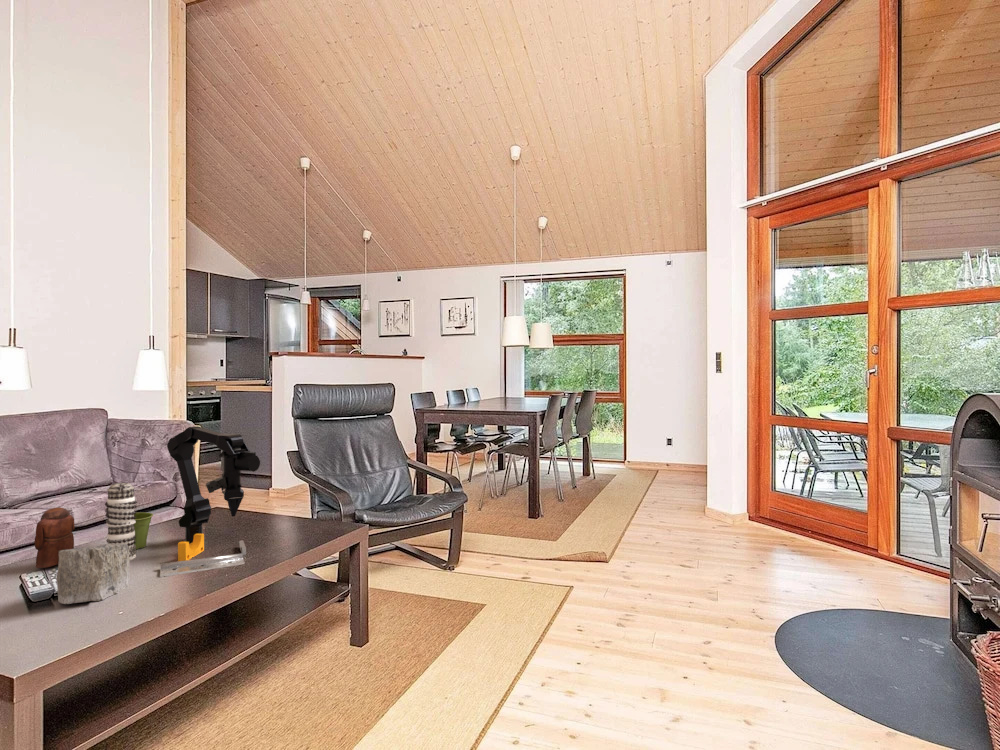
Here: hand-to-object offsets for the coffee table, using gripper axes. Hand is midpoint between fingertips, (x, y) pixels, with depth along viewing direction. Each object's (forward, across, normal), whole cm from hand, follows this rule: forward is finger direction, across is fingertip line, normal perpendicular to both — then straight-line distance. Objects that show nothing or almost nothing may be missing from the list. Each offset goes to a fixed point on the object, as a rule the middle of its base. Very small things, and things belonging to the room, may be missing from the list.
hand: (232, 513), depth 219 cm
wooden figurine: (+12, -7, -53) cm, 55 cm away
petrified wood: (+12, +31, -38) cm, 51 cm away
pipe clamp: (+12, +5, -14) cm, 19 cm away
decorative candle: (+12, -3, -34) cm, 36 cm away
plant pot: (+12, -16, -31) cm, 37 cm away
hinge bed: (+12, +17, -10) cm, 23 cm away
